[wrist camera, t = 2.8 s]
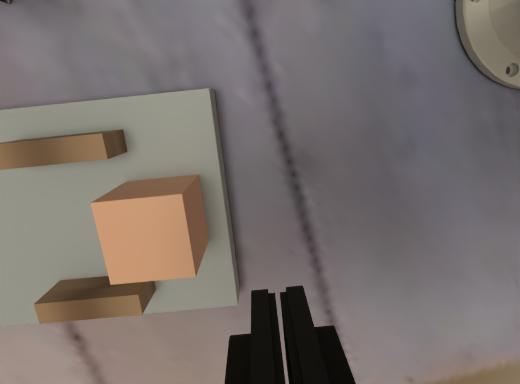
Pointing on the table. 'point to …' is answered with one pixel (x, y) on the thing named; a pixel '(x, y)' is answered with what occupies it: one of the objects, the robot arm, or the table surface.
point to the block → (152, 229)
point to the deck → (101, 182)
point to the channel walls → (84, 289)
